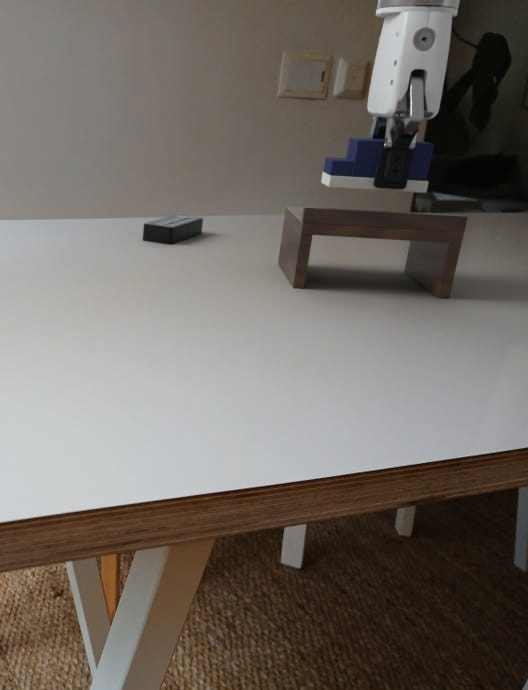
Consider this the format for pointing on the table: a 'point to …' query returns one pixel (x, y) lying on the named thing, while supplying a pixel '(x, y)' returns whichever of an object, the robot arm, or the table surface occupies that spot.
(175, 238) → the multiport hub
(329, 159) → the trainer
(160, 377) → the table surface
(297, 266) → the shelf
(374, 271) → the table surface
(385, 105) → the robot arm
